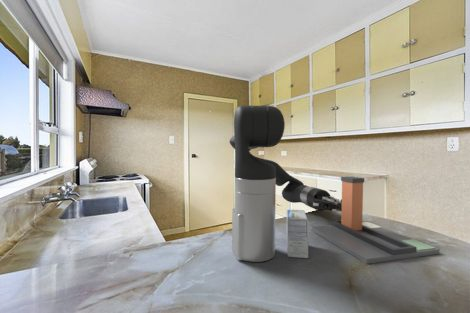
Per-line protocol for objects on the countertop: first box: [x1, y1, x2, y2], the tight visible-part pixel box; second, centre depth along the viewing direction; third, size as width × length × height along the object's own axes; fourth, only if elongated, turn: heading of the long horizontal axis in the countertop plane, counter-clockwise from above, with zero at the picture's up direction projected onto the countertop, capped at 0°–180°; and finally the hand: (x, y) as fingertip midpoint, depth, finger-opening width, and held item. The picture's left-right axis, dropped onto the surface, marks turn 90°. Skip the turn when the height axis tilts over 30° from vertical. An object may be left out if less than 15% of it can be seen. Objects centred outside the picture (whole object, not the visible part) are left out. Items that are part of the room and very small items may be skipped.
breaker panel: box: [310, 219, 441, 264], centre depth 58 cm, size 20×20×2 cm
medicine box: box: [286, 209, 309, 259], centre depth 52 cm, size 8×4×9 cm, turn 168°
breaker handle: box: [340, 176, 365, 231], centre depth 63 cm, size 4×4×14 cm
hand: (349, 210), depth 65 cm, fingers closed
